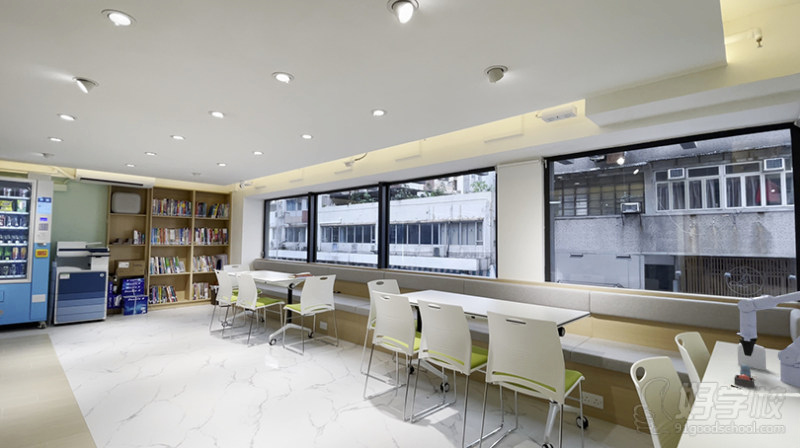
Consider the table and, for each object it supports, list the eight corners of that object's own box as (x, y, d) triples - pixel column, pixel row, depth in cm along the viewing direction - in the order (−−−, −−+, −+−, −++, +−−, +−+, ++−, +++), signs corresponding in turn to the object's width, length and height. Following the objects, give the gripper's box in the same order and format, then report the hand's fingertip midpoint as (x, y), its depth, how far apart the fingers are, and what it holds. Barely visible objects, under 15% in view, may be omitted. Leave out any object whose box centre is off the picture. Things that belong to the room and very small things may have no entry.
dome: (738, 381, 161) (738, 372, 161) (751, 384, 158) (751, 375, 158) (737, 383, 158) (737, 374, 158) (750, 386, 155) (750, 377, 156)
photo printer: (737, 367, 187) (736, 342, 188) (738, 365, 190) (738, 340, 190) (765, 372, 179) (765, 346, 180) (766, 371, 182) (766, 345, 182)
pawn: (755, 383, 160) (755, 366, 161) (745, 382, 160) (745, 366, 161) (745, 379, 165) (745, 363, 165) (735, 379, 165) (735, 362, 165)
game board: (737, 373, 176) (737, 365, 176) (760, 378, 170) (760, 369, 170) (730, 386, 159) (730, 376, 159) (756, 392, 153) (756, 382, 153)
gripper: (738, 321, 185) (738, 349, 184) (735, 325, 175) (735, 354, 174) (758, 324, 180) (758, 353, 179) (755, 328, 170) (756, 358, 169)
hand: (748, 354), depth 176 cm, fingers open, 7 cm apart
